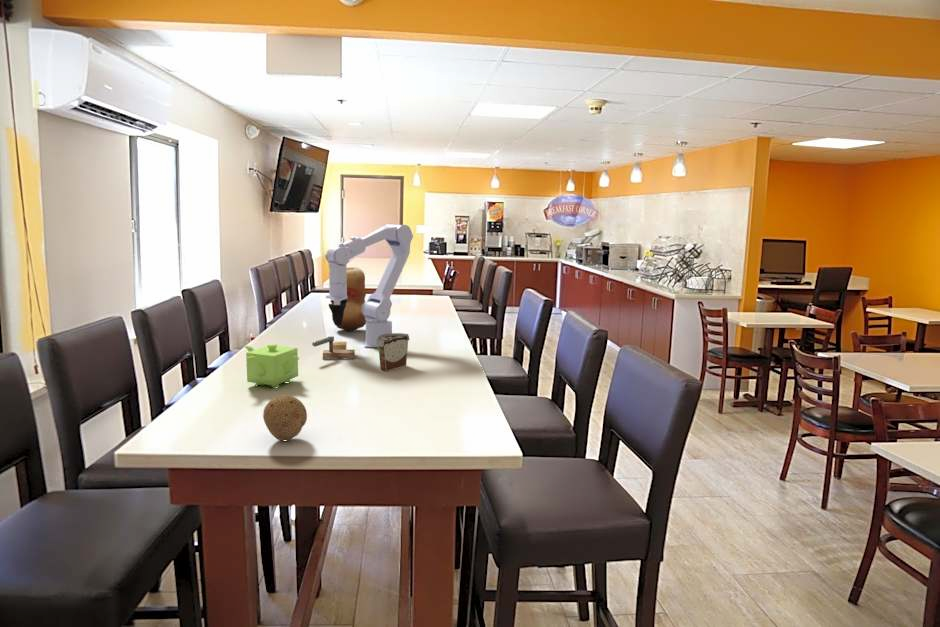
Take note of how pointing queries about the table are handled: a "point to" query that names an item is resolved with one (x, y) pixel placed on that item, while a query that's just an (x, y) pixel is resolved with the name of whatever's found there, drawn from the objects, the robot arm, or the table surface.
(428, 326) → the table surface
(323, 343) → the lever
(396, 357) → the food container
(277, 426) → the natural sponge
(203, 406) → the table surface
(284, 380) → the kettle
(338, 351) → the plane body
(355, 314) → the butternut squash
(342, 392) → the table surface
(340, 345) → the tan wooden block
